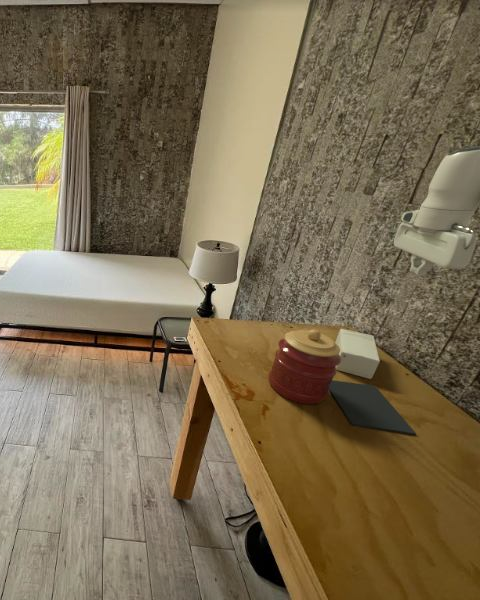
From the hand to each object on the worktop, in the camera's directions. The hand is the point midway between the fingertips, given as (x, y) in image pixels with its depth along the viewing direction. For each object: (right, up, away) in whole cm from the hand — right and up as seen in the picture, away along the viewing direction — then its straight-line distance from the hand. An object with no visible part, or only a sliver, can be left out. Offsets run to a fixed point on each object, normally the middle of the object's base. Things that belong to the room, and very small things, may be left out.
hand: (416, 273), depth 82 cm
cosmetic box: (-3, -19, +16) cm, 25 cm away
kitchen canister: (-31, -30, +2) cm, 43 cm away
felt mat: (-18, -33, -4) cm, 37 cm away
